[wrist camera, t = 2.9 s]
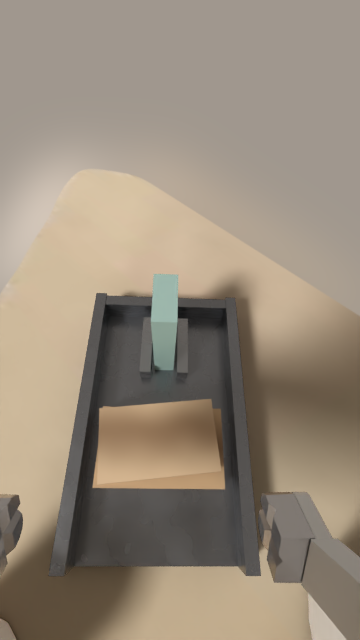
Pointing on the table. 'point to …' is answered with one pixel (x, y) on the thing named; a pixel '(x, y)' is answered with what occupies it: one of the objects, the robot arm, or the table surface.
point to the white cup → (6, 631)
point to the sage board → (164, 320)
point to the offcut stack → (160, 446)
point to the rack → (150, 388)
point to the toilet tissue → (321, 623)
